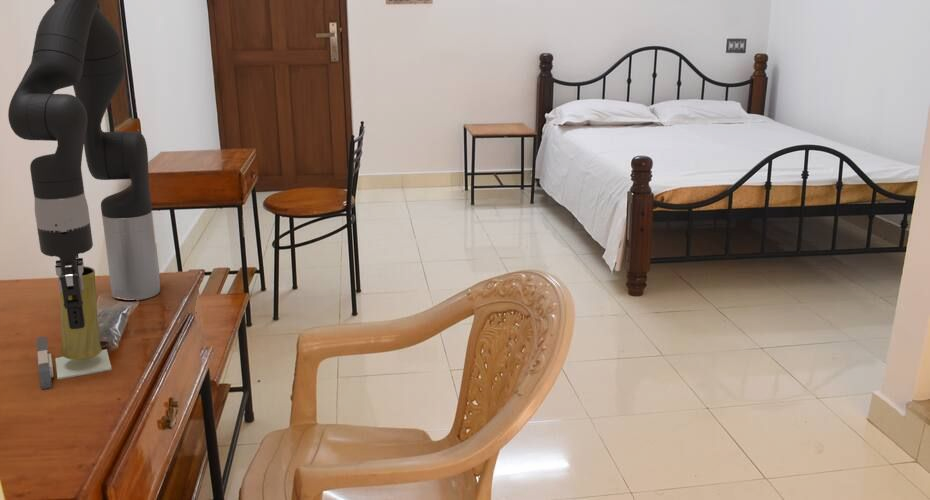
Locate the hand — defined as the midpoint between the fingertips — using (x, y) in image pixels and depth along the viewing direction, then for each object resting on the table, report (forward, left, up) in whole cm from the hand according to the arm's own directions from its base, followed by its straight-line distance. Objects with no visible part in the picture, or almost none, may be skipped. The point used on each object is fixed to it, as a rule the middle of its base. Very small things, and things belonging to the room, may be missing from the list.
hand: (77, 320), depth 131 cm
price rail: (+3, -5, -8) cm, 10 cm away
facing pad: (0, 0, -8) cm, 8 cm away
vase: (0, 0, -6) cm, 6 cm away
